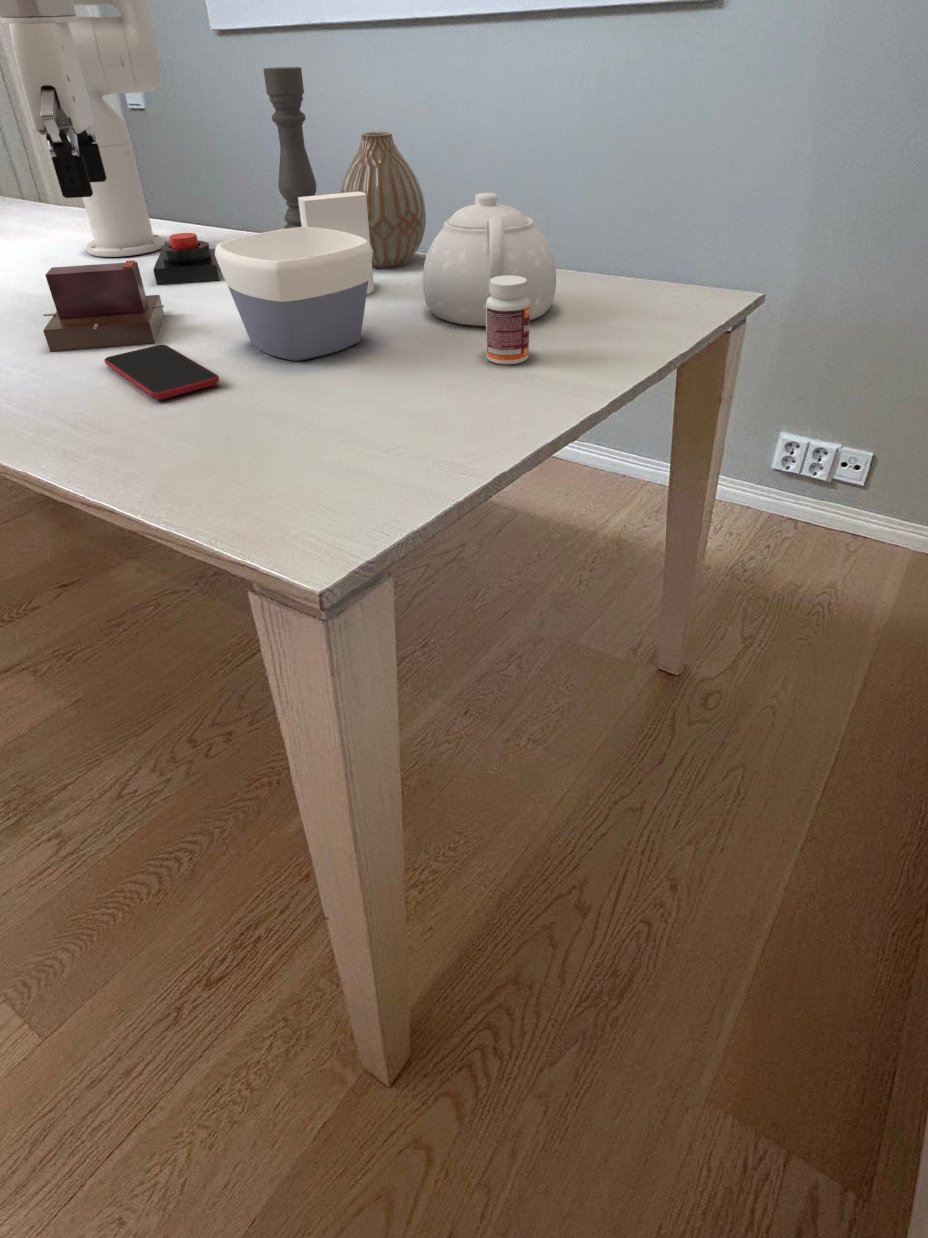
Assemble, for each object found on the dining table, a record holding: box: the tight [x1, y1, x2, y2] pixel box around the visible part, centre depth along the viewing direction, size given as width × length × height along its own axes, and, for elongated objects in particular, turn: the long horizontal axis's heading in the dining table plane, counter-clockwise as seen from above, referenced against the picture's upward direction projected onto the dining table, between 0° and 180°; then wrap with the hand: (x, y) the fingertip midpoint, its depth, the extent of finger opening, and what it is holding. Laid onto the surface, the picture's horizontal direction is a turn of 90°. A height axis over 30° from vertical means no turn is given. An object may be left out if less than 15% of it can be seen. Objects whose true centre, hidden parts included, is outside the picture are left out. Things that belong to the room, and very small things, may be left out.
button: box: [168, 232, 199, 249], centre depth 120 cm, size 4×4×2 cm
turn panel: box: [42, 294, 165, 352], centre depth 99 cm, size 14×14×3 cm
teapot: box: [422, 192, 557, 327], centre depth 100 cm, size 19×18×14 cm
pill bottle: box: [485, 275, 531, 365], centre depth 87 cm, size 5×5×8 cm
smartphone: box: [103, 344, 220, 401], centre depth 87 cm, size 7×1×15 cm
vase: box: [339, 131, 427, 269], centre depth 120 cm, size 13×13×18 cm
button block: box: [152, 239, 222, 286], centre depth 121 cm, size 11×9×4 cm
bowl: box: [214, 227, 373, 362], centre depth 91 cm, size 15×15×11 cm
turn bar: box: [44, 259, 148, 318], centre depth 97 cm, size 10×4×5 cm, turn 101°
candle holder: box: [262, 66, 318, 229], centre depth 127 cm, size 6×6×25 cm
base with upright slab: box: [298, 192, 375, 295], centre depth 109 cm, size 9×9×12 cm
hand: (86, 188), depth 94 cm, fingers open, 9 cm apart
